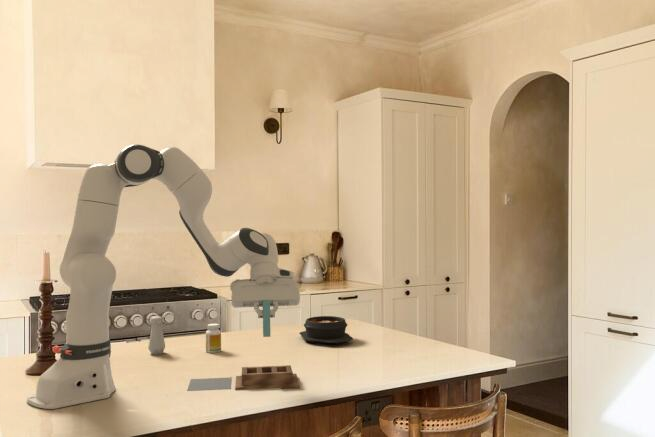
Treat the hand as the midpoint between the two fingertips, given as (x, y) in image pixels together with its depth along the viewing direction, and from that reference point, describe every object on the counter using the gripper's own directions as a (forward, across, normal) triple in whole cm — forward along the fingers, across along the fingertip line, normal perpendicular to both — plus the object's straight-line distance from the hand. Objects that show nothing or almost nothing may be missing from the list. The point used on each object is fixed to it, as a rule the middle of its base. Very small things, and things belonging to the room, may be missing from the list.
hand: (266, 316), depth 176 cm
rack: (+14, 0, +14) cm, 20 cm away
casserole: (-25, +24, +54) cm, 64 cm away
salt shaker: (-18, -38, +46) cm, 62 cm away
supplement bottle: (-18, -18, +46) cm, 52 cm away
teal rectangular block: (+3, 0, +4) cm, 6 cm away
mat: (+13, -16, +15) cm, 26 cm away
